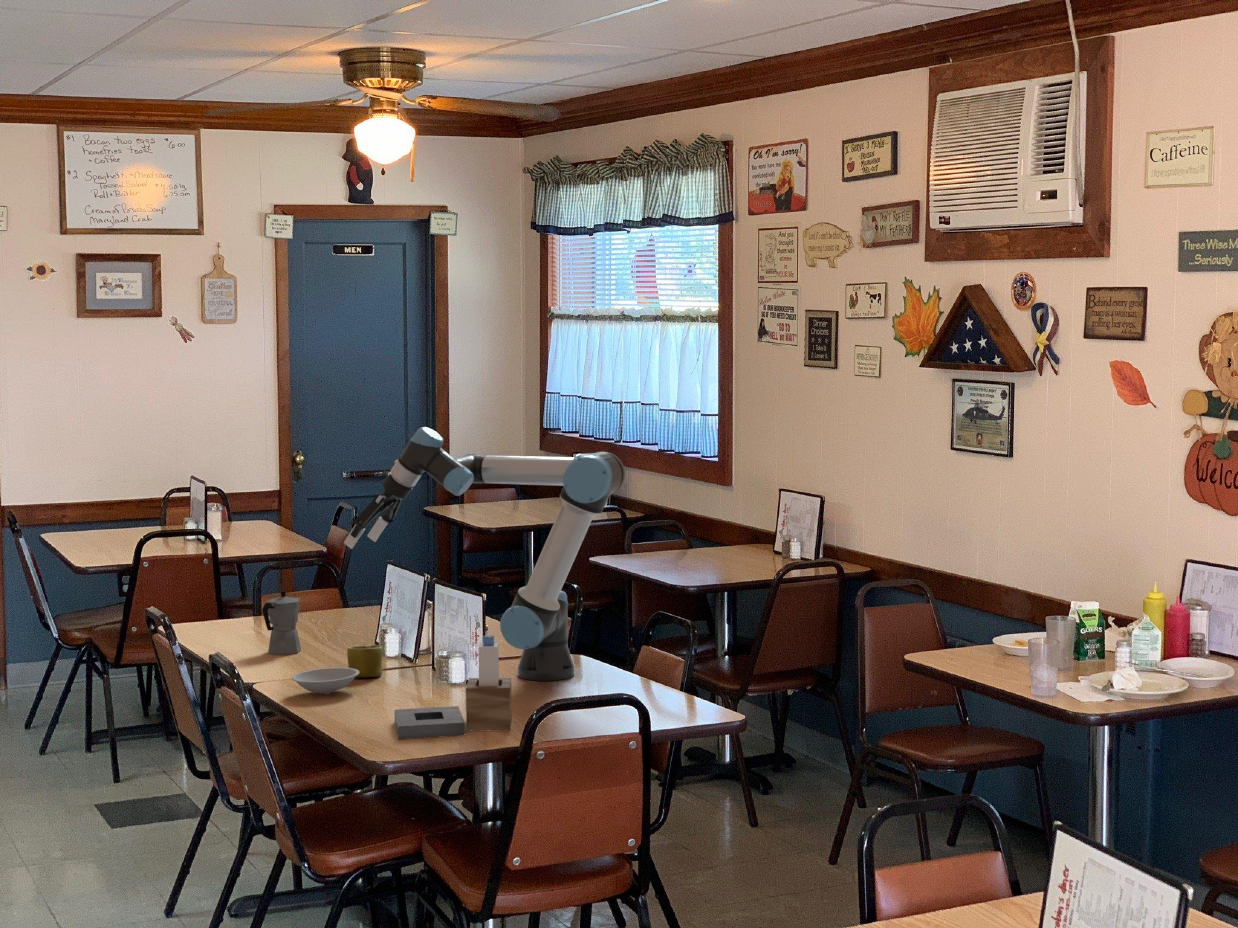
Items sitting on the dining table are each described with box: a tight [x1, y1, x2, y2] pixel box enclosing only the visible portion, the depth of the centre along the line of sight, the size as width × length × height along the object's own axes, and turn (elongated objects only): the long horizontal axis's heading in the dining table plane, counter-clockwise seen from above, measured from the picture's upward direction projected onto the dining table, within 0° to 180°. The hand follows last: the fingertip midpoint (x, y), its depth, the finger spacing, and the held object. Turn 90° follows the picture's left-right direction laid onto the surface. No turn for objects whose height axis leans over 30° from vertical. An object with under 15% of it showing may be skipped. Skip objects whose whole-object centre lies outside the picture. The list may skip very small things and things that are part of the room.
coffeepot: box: [261, 590, 302, 656], centre depth 409 cm, size 15×9×18 cm, turn 153°
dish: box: [291, 667, 359, 695], centre depth 362 cm, size 18×14×5 cm
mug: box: [346, 644, 384, 679], centre depth 382 cm, size 12×10×10 cm
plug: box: [478, 634, 500, 686], centre depth 330 cm, size 4×4×14 cm
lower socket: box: [394, 705, 466, 740], centre depth 329 cm, size 15×15×3 cm
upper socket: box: [465, 677, 513, 732], centre depth 331 cm, size 10×10×10 cm
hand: (359, 542), depth 380 cm, fingers open, 13 cm apart
